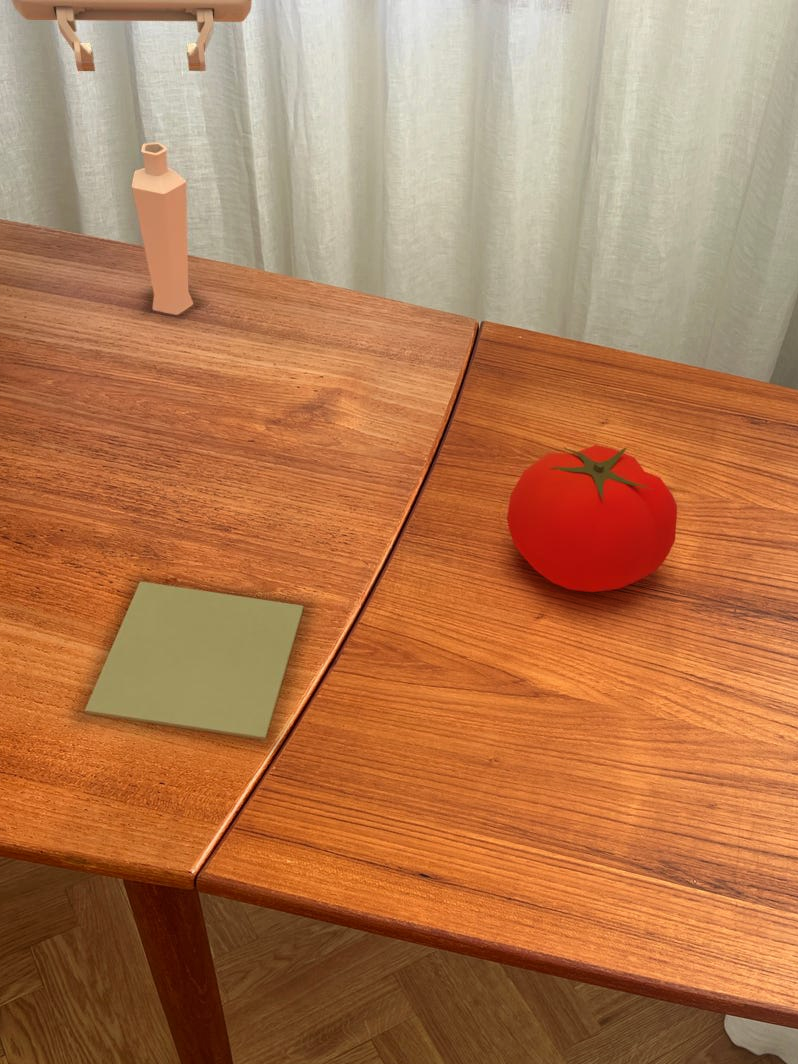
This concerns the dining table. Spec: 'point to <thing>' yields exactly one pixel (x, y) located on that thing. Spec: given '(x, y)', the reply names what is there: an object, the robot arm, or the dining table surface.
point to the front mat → (198, 661)
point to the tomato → (592, 519)
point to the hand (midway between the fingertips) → (142, 68)
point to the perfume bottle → (163, 228)
